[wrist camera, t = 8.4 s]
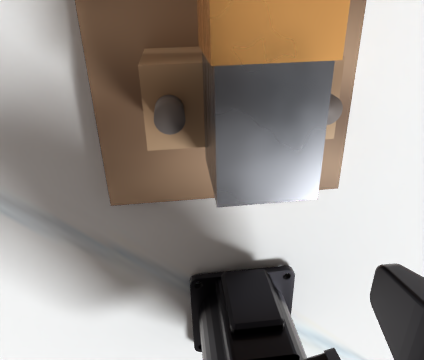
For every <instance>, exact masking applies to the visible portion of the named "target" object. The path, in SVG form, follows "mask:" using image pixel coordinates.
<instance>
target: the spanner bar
mask: <svg viewBox="0 0 424 360" xmlns="http://www.w3.org/2000/svg"><path fill="white" fill-rule="evenodd" d="M349 7H350V0H197V16H198V42H199V47H200V49H201V50H202V68H203V97H204V125H205V154H206V162H207V166H208V171H209V175H210V179H211V183H212V188H213V192H214V196H215V200H216V204H217V207H227V206H239V205H252V204H265V203H277V202H290V201H303V200H316V199H318V192H319V184H320V176H321V168H322V160H323V152H324V144H325V136H326V128H327V120H328V112H329V104H330V96H331V88H332V80H333V72H334V64H335V60H343V52H344V45H345V37H346V30H347V22H348V15H349Z"/></svg>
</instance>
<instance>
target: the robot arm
mask: <svg viewBox="0 0 424 360" xmlns="http://www.w3.org/2000/svg"><path fill="white" fill-rule="evenodd" d="M287 273H288V274H287ZM284 274H287V275H284ZM294 279H295V274H294V271H293V269H292V268H291V267H289V266H280V267H270V268H259V269H248V270H238V271H227V272H217V273H206V274H197V275H194V276H192V277H191V279H190V291H191V305H192V320H193V335H194V348H195V350H196V351H198V352H202V356H203V360H341V359H340V357H339V356H338V354H337V352H336V350H335V348H331V349H328V350H325V351H324V353H322V354H319V355H316V356H313V357H309V358H307V357H306V354H305V351H304V349H303V346H302V344H301V341H300V338H299V336H298V333H297V331H296V328H295V325H294V323H293V320H292V318H291V308H292V298H293V288H294ZM196 282H201V283H199V284H196ZM370 302H371V305H372V308H373V310H374V313H375V315H376V317H377V320H378V322H379V325H380V327H381V329H382V332H383V334H384V336H385V339H386V341H387V344H388V346H389V348H390V351H391V353H392V355H393V358H394V360H424V277H422V276H420V275H418V274H416V273H415V272H413V271H411V270H409V269H407V268H405V267H404V266H402V265H400V264H385V265H380V266H378V267H377V268H376V271H375V275H374V279H373V283H372V288H371V292H370Z"/></svg>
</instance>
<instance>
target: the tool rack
mask: <svg viewBox="0 0 424 360" xmlns="http://www.w3.org/2000/svg"><path fill="white" fill-rule="evenodd" d="M75 4H76V10H77V16H78V21H79V27H80V33H81V38H82V44H83V50H84V55H85V61H86V67H87V73H88V78H89V84H90V90H91V95H92V101H93V107H94V113H95V118H96V124H97V130H98V135H99V141H100V147H101V152H102V158H103V164H104V170H105V175H106V181H107V187H108V192H109V198H110V204H111V206H114V205H127V204H140V203H153V202H166V201H179V200H192V199H205V198H215V196H214V192H213V188H212V183H211V179H210V175H209V171H208V166H207V162H206V154H205V125H204V97H203V68H202V50H201V49H200V47H199V42H198V16H197V0H75ZM365 6H366V0H350V7H349V15H348V22H347V30H346V37H345V45H344V52H343V60H335V64H334V72H333V80H332V88H331V96H330V104H329V112H328V120H327V128H326V136H325V144H324V152H323V160H322V168H321V176H320V184H319V190H323V189H336V188H338V185H339V178H340V172H341V165H342V158H343V152H344V145H345V139H346V132H347V125H348V119H349V112H350V106H351V99H352V92H353V86H354V79H355V72H356V66H357V59H358V53H359V46H360V39H361V33H362V26H363V20H364V13H365Z"/></svg>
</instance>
